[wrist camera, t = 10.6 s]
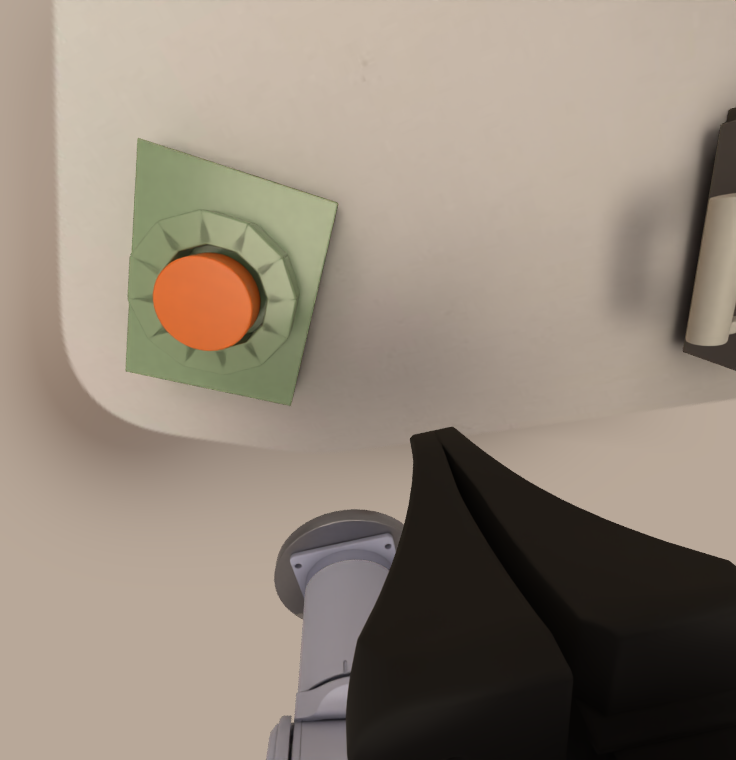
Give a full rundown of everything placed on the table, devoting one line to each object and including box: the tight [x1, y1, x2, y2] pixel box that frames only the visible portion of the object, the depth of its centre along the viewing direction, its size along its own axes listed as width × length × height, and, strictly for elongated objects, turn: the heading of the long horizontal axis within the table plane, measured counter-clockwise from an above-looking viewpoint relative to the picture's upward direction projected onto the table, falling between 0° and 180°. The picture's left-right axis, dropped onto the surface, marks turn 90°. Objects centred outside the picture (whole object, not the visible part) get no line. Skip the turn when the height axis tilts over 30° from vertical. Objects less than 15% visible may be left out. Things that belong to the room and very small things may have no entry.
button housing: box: [126, 138, 338, 406], centre depth 17 cm, size 10×8×4 cm
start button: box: [153, 252, 260, 351], centre depth 15 cm, size 4×4×2 cm
